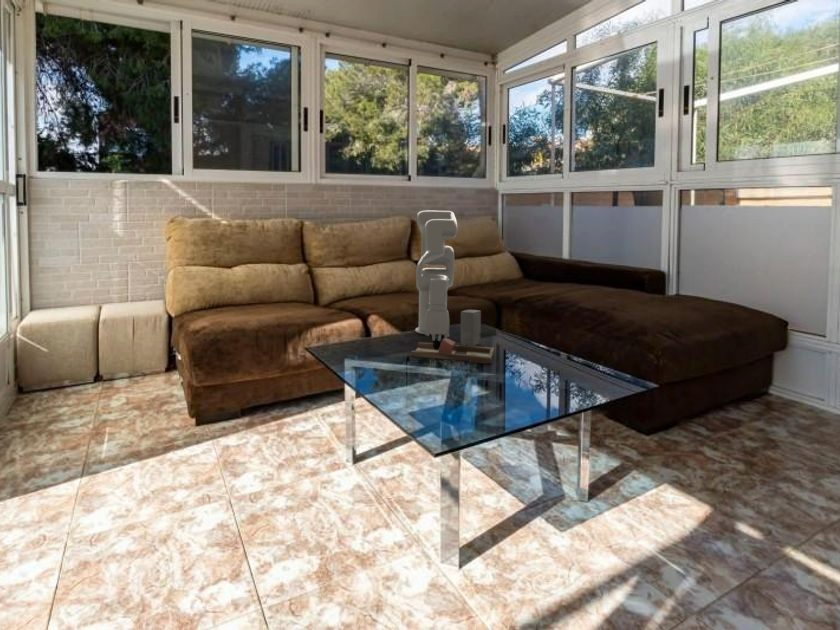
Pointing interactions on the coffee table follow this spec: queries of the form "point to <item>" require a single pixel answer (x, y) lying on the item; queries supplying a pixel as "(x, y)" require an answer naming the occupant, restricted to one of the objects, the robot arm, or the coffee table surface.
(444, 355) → the trap box
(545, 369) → the coffee table surface
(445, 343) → the oxblood block
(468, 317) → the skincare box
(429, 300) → the robot arm
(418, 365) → the coffee table surface
